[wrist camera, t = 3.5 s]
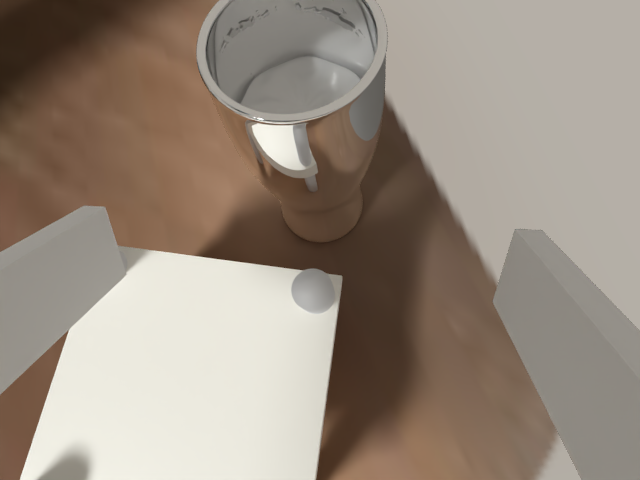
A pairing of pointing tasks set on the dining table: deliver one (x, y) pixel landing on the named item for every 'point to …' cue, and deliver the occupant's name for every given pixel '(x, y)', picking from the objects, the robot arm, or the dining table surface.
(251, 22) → the silver metal goblet
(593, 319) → the robot arm
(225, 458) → the shelf stand
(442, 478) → the dining table surface
